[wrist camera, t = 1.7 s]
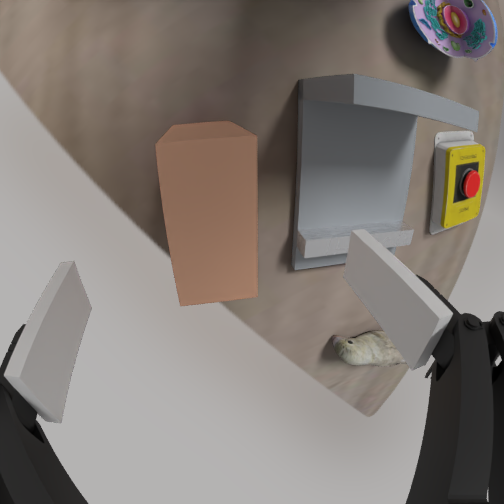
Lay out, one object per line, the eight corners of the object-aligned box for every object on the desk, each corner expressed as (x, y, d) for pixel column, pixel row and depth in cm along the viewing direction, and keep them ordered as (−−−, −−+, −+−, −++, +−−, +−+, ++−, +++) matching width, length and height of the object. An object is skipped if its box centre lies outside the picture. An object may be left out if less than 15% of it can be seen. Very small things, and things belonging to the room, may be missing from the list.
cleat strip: (297, 229, 29) (305, 240, 27) (402, 220, 31) (414, 229, 29) (296, 246, 30) (304, 258, 28) (399, 235, 32) (410, 244, 30)
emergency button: (492, 137, 24) (481, 232, 32) (470, 129, 28) (463, 220, 36) (455, 139, 24) (445, 248, 32) (431, 131, 28) (426, 234, 36)
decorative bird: (337, 322, 40) (359, 359, 34) (406, 321, 45) (428, 349, 38) (323, 347, 42) (341, 383, 36) (392, 342, 47) (411, 370, 41)
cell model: (378, -15, 17) (436, -34, 9) (443, -6, 17) (496, -11, 9) (405, 61, 22) (470, 63, 14) (463, 59, 22) (518, 66, 14)
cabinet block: (172, 125, 23) (155, 144, 12) (228, 120, 23) (257, 135, 13) (183, 233, 28) (182, 315, 18) (232, 228, 29) (257, 306, 19)
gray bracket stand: (298, 79, 22) (354, 73, 14) (411, 98, 25) (478, 111, 16) (291, 264, 33) (324, 324, 24) (389, 251, 35) (434, 296, 26)
